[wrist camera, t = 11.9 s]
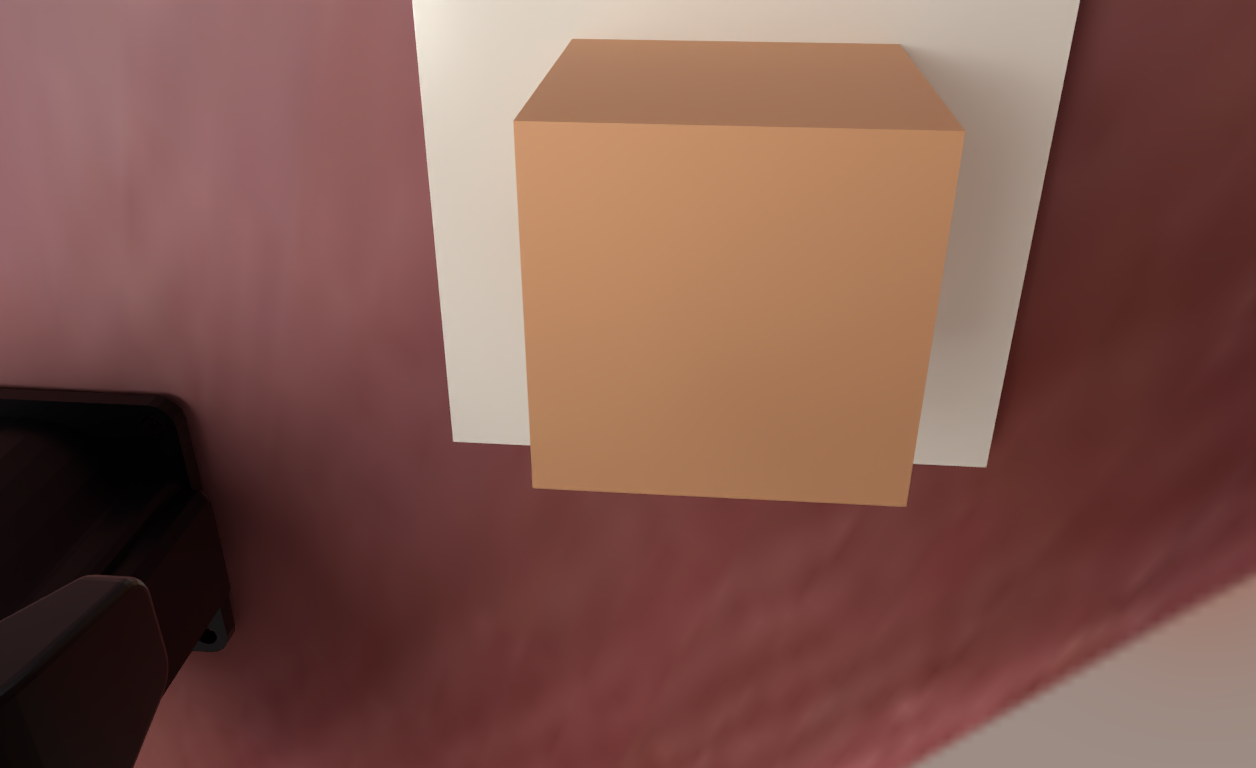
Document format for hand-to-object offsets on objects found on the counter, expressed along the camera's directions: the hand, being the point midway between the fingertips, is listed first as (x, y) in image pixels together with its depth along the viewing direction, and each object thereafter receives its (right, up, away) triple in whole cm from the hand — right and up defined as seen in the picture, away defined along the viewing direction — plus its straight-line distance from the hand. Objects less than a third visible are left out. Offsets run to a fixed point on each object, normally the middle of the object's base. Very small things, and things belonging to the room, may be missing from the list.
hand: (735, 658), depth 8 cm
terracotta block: (+1, +5, +9) cm, 11 cm away
